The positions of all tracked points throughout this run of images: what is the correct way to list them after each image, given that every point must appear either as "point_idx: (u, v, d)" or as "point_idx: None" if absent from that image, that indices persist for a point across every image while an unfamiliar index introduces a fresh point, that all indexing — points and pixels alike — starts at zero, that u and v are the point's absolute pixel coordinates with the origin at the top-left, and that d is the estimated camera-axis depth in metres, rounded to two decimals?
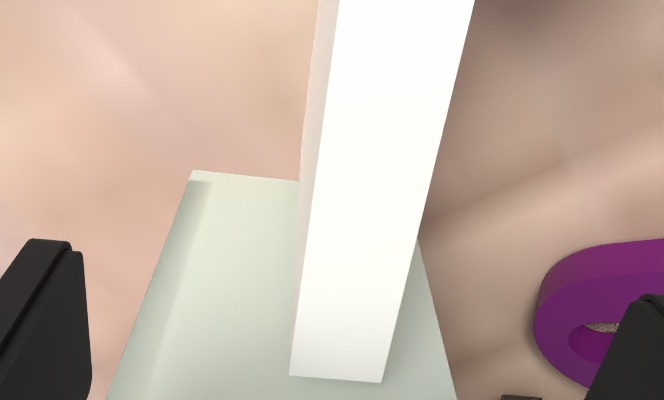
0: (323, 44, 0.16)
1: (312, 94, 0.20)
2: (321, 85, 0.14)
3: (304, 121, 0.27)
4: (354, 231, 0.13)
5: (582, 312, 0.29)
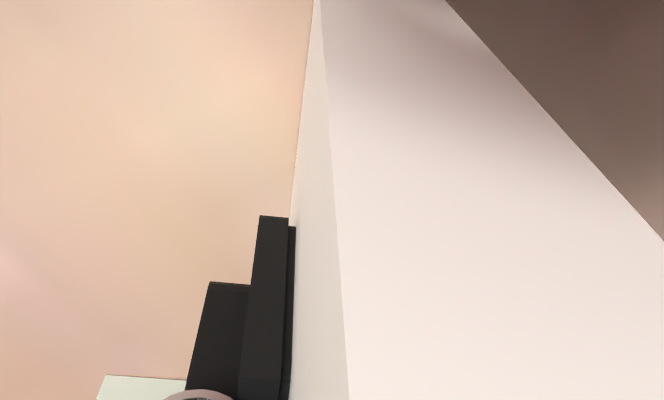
0: None
1: None
2: None
3: None
4: None
5: None
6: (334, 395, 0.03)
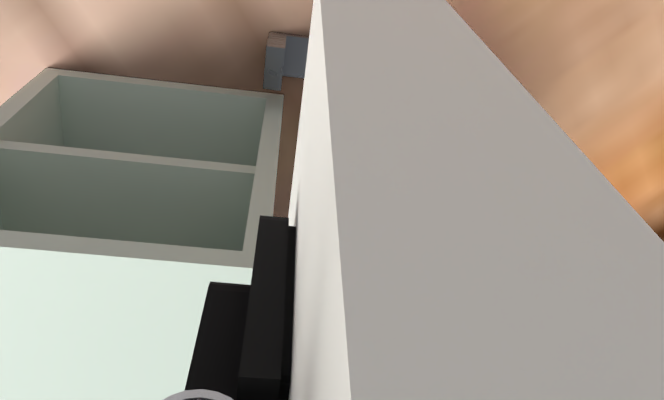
0: None
1: None
2: None
3: None
4: None
5: None
6: (332, 338, 0.04)
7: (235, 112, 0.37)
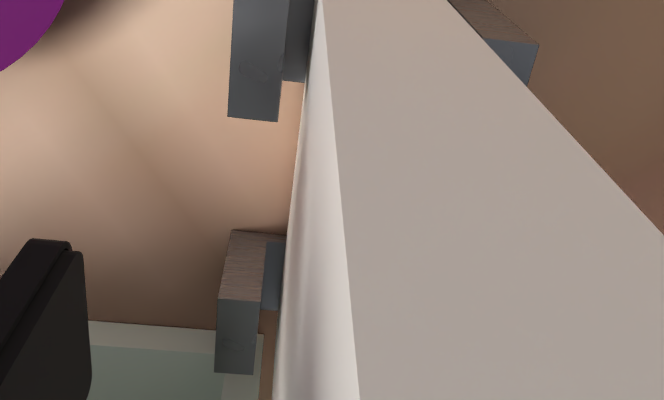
0: (300, 396, 0.06)
1: (285, 351, 0.10)
2: None
3: (280, 299, 0.17)
4: None
5: None
6: (337, 304, 0.04)
7: (166, 377, 0.18)
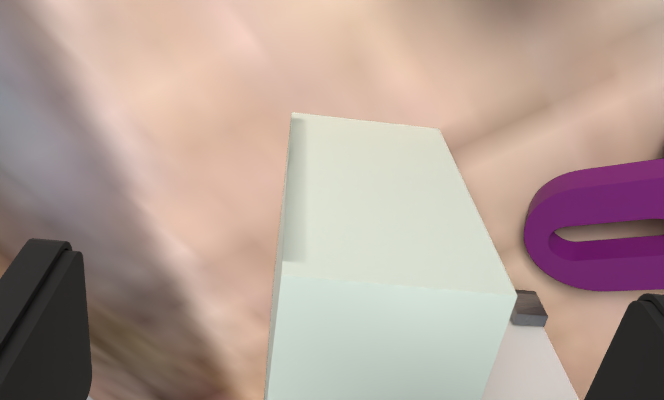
0: None
1: None
2: None
3: None
4: None
5: (558, 218, 0.42)
6: None
7: None
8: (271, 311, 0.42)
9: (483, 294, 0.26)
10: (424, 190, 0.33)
